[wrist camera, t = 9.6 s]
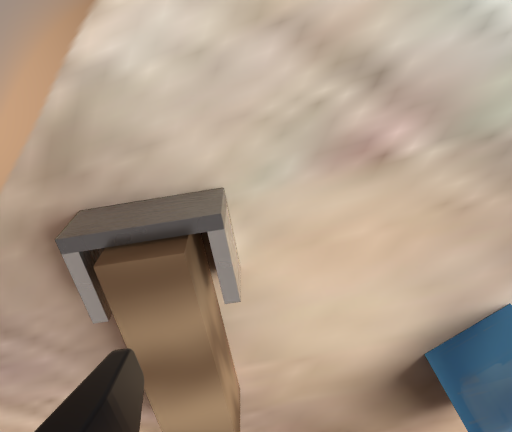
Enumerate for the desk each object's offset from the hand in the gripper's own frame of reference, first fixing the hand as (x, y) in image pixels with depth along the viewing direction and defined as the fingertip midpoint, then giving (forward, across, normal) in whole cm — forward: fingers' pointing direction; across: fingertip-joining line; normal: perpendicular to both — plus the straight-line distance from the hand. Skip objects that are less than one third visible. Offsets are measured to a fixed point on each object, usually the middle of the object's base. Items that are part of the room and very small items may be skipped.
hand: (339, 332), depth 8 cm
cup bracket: (+12, +7, +4) cm, 14 cm away
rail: (+12, +7, +9) cm, 17 cm away
